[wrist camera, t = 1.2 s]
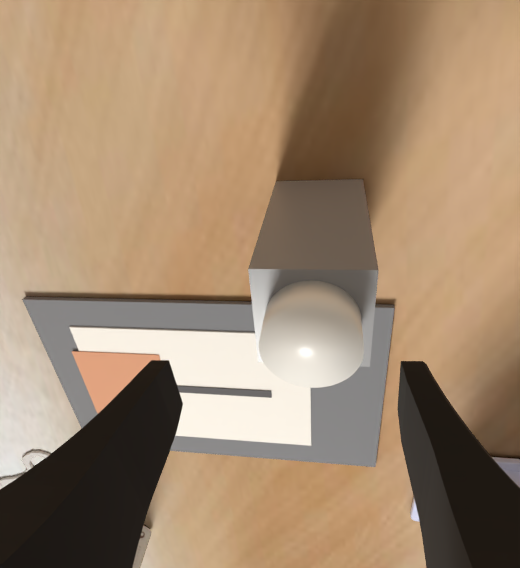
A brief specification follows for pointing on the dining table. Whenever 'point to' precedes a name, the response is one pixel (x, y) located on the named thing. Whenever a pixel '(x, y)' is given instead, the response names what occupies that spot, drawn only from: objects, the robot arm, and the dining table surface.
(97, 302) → the mat
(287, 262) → the grey post with dome
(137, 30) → the dining table surface
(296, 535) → the dining table surface
